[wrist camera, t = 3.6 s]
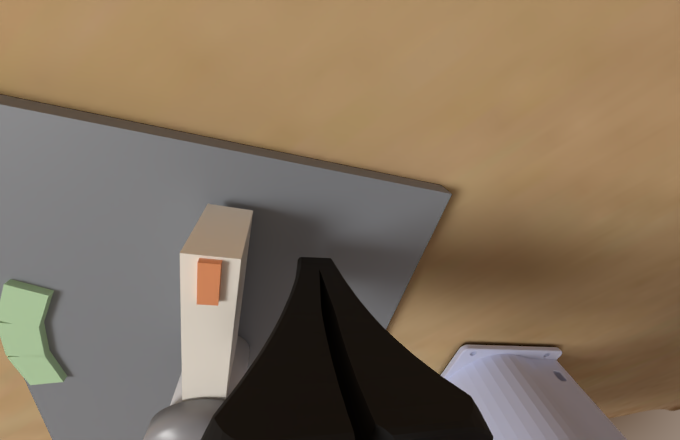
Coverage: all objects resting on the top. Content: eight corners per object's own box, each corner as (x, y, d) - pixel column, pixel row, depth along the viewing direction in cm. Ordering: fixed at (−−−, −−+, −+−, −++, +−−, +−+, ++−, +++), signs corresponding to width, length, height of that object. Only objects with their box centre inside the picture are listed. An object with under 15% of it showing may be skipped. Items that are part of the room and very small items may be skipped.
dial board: (441, 185, 13) (455, 197, 12) (330, 424, 23) (333, 443, 22) (-71, 79, 8) (-127, 82, 7) (71, 438, 18) (57, 462, 17)
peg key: (254, 373, 16) (243, 471, 12) (179, 373, 15) (141, 480, 11) (284, 210, 11) (282, 290, 7) (175, 193, 10) (104, 276, 6)
